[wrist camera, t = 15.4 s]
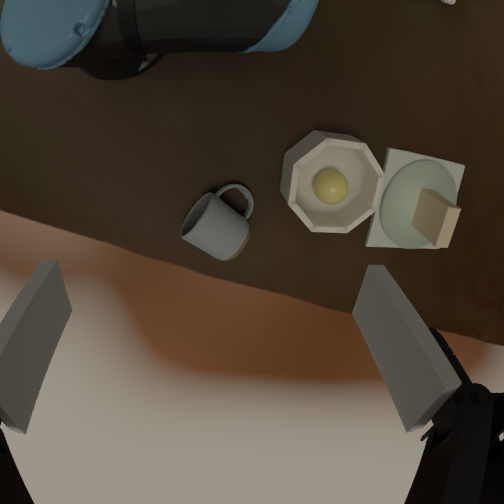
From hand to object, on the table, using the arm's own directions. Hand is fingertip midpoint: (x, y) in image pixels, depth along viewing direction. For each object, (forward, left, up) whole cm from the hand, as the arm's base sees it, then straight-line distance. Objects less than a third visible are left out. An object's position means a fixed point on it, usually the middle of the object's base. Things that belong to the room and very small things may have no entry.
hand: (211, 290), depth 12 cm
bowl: (+5, +17, -35) cm, 39 cm away
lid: (+8, +36, -34) cm, 50 cm away
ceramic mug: (+12, +1, -35) cm, 37 cm away
